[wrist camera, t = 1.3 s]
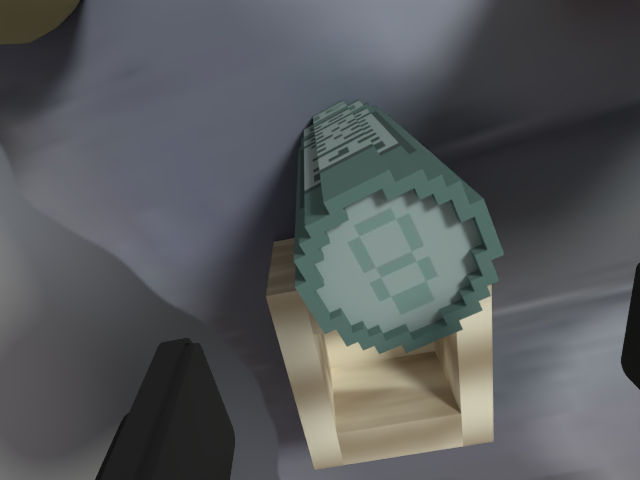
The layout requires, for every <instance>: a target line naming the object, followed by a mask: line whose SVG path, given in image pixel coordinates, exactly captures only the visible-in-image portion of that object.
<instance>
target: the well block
mask: <svg viewBox="0 0 640 480" xmlns="http://www.w3.org/2000/svg"><path fill="white" fill-rule="evenodd" d="M294 240H295V238H291V239H286V240H281V241H275V242H274V243H273V250H272V257H271V264H270V271H269V278H268V284H267V291H266V299H267V302H268V306H269V309H270V313H271V316H272V320H273V324H274V327H275V331H276V334H277V338H278V341H279V345H280V348H281V352H282V355H283V359H284V363H285V366H286V370H287V373H288V377H289V380H290V384H291V387H292V391H293V394H294V398H295V402H296V405H297V409H298V412H299V416H300V419H301V423H302V426H303V430H304V433H305V437H306V441H307V444H308V448H309V451H310V455H311V458H312V462H313V465H314V469H315V470H316V469H322V468H328V467H335V466H341V465H347V464H354V463H360V462H366V461H373V460H379V459H385V458H392V457H398V456H404V455H411V454H417V453H423V452H430V451H436V450H442V449H448V448H455V447H461V446H467V445H474V444H480V443H486V442H493V369H492V294H491V285H489V286H487V287H488V290H489V292H490V294H491V296H490V297H487V298H485V299H483V300H480V301H479V303H480V305H481V307H482V310H483V311H480V312H478V313H476V314H473V315H471V316H469V317H466V318H464V319H462V320H459V322H460V324H461V326H462V328H463V330H461V331H458V332H456V333H454V334H451V335H449V336H446V337H444V338H442V339H439V340H437V341H435V342H432V343H430V344H427V345H425V346H423V347H420V348H418V349H415V350H413V351H411V352H408V353H406V352H405V350H404V349H403V347H402V345H400V346H398V347H395V348H393V349H391V350H388V351H386V352H384V353H381V354H379V353H378V351H377V350H376V348H375V346H373V347H371V348H368V349H366V350H363V349H362V348H361V346H360V344H359V343H358V342H357V343H355V344H352V345H350V346H348V347H347V346H346V344H345V343H344V341H343V340H342V338H341V336H340V335H339V333H338V332H337V330H333V331H331V332H329V333H327V334H324V332H323V330H322V329H321V327H320V326H319V324H318V323H317V321H316V320H315V318H314V316H313V315H312V313H311V312H310V310H309V309H308V307H307V305H306V304H305V302H304V301H303V299H302V298H301V296H300V295H299V293H298V291H297V290H296V288H295V266H296V264H295V262H294Z"/></svg>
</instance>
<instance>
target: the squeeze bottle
mask: <svg viewBox="0 0 640 480" xmlns="http://www.w3.org/2000/svg"><path fill="white" fill-rule="evenodd" d="M79 1H80V0H0V44H25V43H31V42H32V41H34V40H36V39H38V38H39V37H41V36H43V35H45V34H47V33H48V32H50V31H52V30H54V29H55V28H57V27H58V26H59V25H60V24H61V23H62V22H63V21H64V20H65V19H66V18H67V17H68V16H69V15H70V14H71V13H72V12H73V11H74V9H75V8H76V6H77V5H78V3H79Z"/></svg>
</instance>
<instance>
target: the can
mask: <svg viewBox="0 0 640 480" xmlns="http://www.w3.org/2000/svg"><path fill="white" fill-rule="evenodd" d="M503 255H504V252H503V249H502V247H501V244H500V241H499V238H498V236H497V233H496V230H495V228H494V225H493V222H492V220H491V217H490V214H489V211H488V209H487V206H486V203H485V201H484V198H483V197H481V196H480V195H479V194H478V193H477V192H476V191H475V190H473V189H472V188H471V187H470V186H469V185H468V184H467V183H465V182H464V181H463V180H462V179H461V178H460V177H459V176H457V175H456V174H455V173H454V172H453V171H452V170H451V169H449V168H448V167H447V166H446V165H445V164H444V163H443V162H441V161H440V160H439V159H438V158H437V157H436V156H435V155H433V154H432V153H431V152H430V151H429V150H428V149H426V148H425V147H424V146H423V145H422V144H421V143H420V142H418V141H417V140H416V139H415V138H414V137H413V136H412V135H410V134H409V133H408V132H407V131H406V130H405V129H404V128H402V127H401V126H400V125H399V124H398V123H397V122H396V121H394V120H393V119H392V118H391V117H390V116H389V115H386V114H385V113H384V112H383V111H382V110H381V109H380V108H378V107H377V106H375V107H373V108H372V107H371V106H370V105H369V104H368V103H366V104H364V105H363V104H362V103H361V102H360V101H359V100H357V101H355V102H353V103H351V104H349V105H346V104H345V102H344V101H343V100H342V101H340V102H338V103H336V104H335V105H333V106H331V107H329V108H327V109H325V110H324V111H322V112H320V113H318V114H316V115H314V116H313V124H312V125H310V126H308V127H306V128H305V129H304V137H302V138H301V146H299V147H298V170H297V193H296V217H295V240H294V262H295V264H296V266H295V288H296V290H297V291H298V293H299V295H300V296H301V298H302V299H303V301H304V302H305V304H306V305H307V307H308V309H309V310H310V312H311V313H312V315H313V316H314V318H315V320H316V321H317V323H318V324H319V326H320V327H321V329H322V330H323V332H324V334H327V333H329V332H331V331H333V330H337V332H338V333H339V335H340V336H341V338H342V340H343V341H344V343H345V344H346V346H347V347H348V346H350V345H352V344H355V343H357V342H358V343H359V344H360V346H361V348H362V349H363V350H366V349H368V348H371V347H373V346H375V348H376V350H377V351H378V353H379V354H381V353H384V352H386V351H388V350H391V349H393V348H395V347H398V346H400V345H402V347H403V349H404V350H405V352H406V353H408V352H411V351H413V350H415V349H418V348H420V347H423V346H425V345H427V344H430V343H432V342H435V341H437V340H439V339H442V338H444V337H446V336H449V335H451V334H454V333H456V332H458V331H461V330H463V328H462V326H461V324H460V322H459V320H462V319H464V318H466V317H469V316H471V315H473V314H476V313H478V312H480V311H483V310H482V307H481V305H480V303H479V301H480V300H483V299H485V298H487V297H490V296H491V294H490V292H489V290H488V287H487V286H489V285H491V284H493V283H496V282H498V281H499V278H498V275H497V273H496V270H495V268H494V265H493V263H492V260H494V259H496V258H498V257H501V256H503Z"/></svg>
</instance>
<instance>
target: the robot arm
mask: <svg viewBox="0 0 640 480" xmlns="http://www.w3.org/2000/svg"><path fill="white" fill-rule="evenodd" d="M621 365H622V368H623V371H624V372H625V374H626V376H627V377H628V378H629V379H630V380H631V381H632V382H633V383H634V384H635V385H636V386H637V387H638V388H639V389H640V263H639V264H638V265H637V268H636V272H635V278H634V284H633V290H632V296H631V302H630V308H629V314H628V320H627V326H626V332H625V338H624V344H623V350H622V356H621ZM234 448H235V436H234V430H233V427H232V424H231V421H230V419H229V416H228V414H227V411H226V409H225V406H224V403H223V401H222V398H221V396H220V393H219V391H218V388H217V385H216V383H215V380H214V378H213V375H212V373H211V370H210V368H209V365H208V363H207V360H206V357H205V355H204V352H203V350H202V347H201V345H200V344H198V343H195V344H193V343H192V341H191V340H190V339H189V338H184V339H178V340H173V341H167V342H163V343H161V344H160V345H159V346H158V348H157V351H156V353H155V355H154V357H153V360H152V362H151V364H150V366H149V369H148V371H147V373H146V376H145V378H144V380H143V383H142V385H141V387H140V389H139V392H138V394H137V396H136V399H135V401H134V403H133V405H132V408H131V410H130V412H129V413H128V414H127V415H126V416H125V417H124V418H123V420H122V421H121V423H120V425H119V428H118V430H117V432H116V434H115V436H114V439H113V441H112V443H111V445H110V448H109V450H108V452H107V454H106V457H105V459H104V461H103V463H102V466H101V468H100V470H99V472H98V474H97V476H96V479H95V480H230V475H231V468H232V461H233V454H234Z"/></svg>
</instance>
